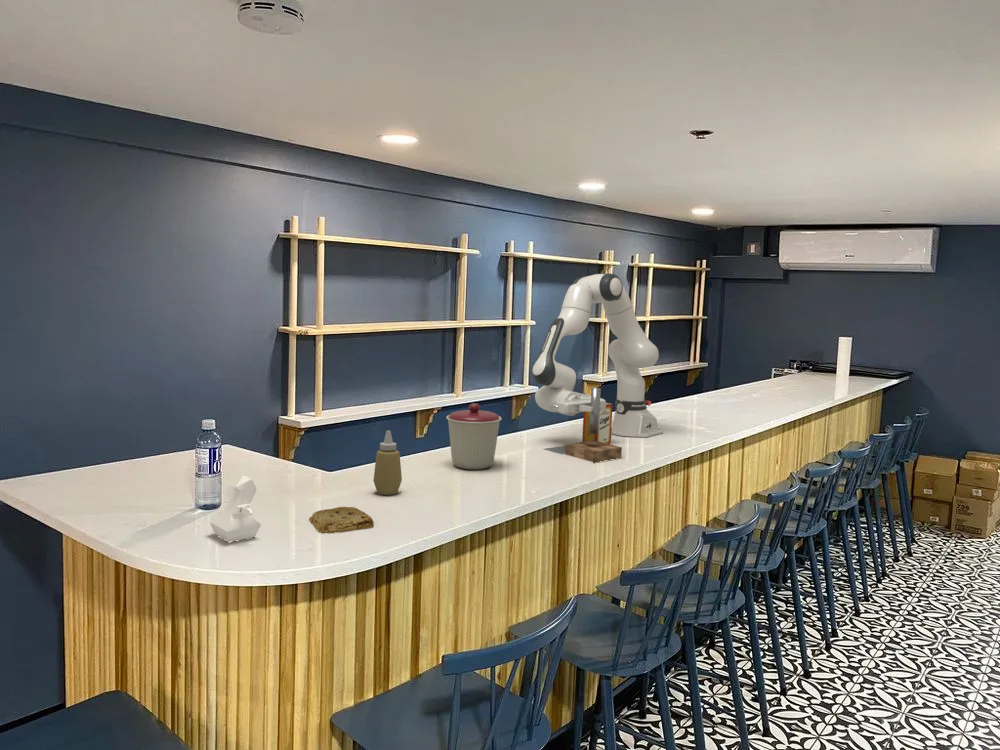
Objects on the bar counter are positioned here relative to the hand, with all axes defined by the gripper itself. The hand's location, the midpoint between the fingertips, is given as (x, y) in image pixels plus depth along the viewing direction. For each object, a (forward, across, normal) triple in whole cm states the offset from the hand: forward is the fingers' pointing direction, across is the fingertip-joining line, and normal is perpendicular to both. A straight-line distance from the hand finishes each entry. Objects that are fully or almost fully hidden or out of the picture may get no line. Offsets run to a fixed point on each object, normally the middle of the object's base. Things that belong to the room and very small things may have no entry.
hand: (596, 408), depth 278 cm
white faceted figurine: (+15, -134, +18) cm, 136 cm away
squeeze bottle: (+1, -85, +18) cm, 87 cm away
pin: (-1, 0, +9) cm, 9 cm away
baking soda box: (-16, +17, +18) cm, 29 cm away
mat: (-14, -2, +17) cm, 22 cm away
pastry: (+19, -109, +18) cm, 112 cm away
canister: (-12, -45, +18) cm, 50 cm away
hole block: (-1, 0, +17) cm, 17 cm away
